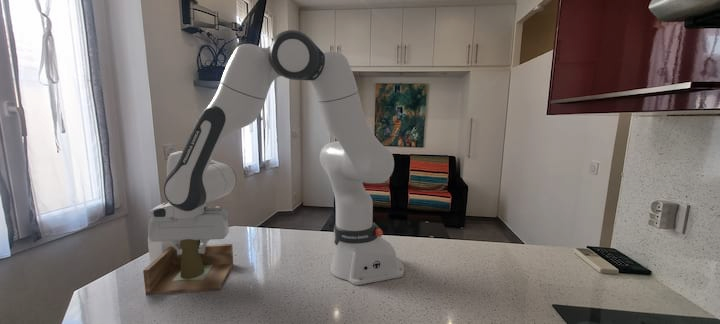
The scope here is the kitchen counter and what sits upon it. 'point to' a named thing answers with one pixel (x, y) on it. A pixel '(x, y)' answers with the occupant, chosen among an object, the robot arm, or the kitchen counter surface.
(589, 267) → the kitchen counter surface
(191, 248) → the olive pepper mill
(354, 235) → the robot arm
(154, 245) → the jar
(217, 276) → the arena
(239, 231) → the kitchen counter surface
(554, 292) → the kitchen counter surface
